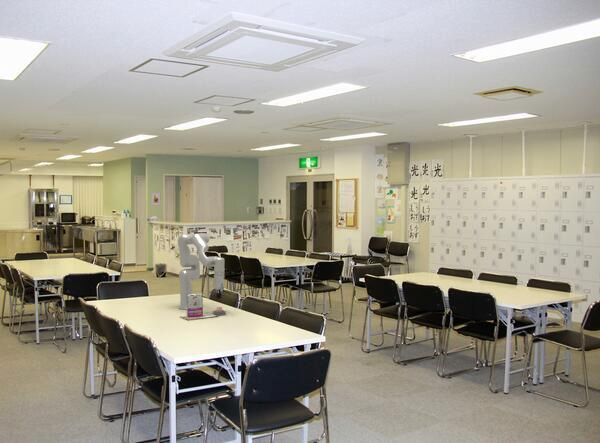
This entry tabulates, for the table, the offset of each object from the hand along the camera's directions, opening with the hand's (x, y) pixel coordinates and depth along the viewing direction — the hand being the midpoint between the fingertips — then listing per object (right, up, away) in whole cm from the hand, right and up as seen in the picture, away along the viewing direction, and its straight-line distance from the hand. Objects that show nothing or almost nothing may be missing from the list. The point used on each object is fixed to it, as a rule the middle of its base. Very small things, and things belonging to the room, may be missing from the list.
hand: (218, 298), depth 419 cm
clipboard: (-13, -13, -9) cm, 21 cm away
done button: (+1, -12, 0) cm, 12 cm away
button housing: (+1, -13, 0) cm, 13 cm away
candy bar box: (-16, -12, -11) cm, 23 cm away
